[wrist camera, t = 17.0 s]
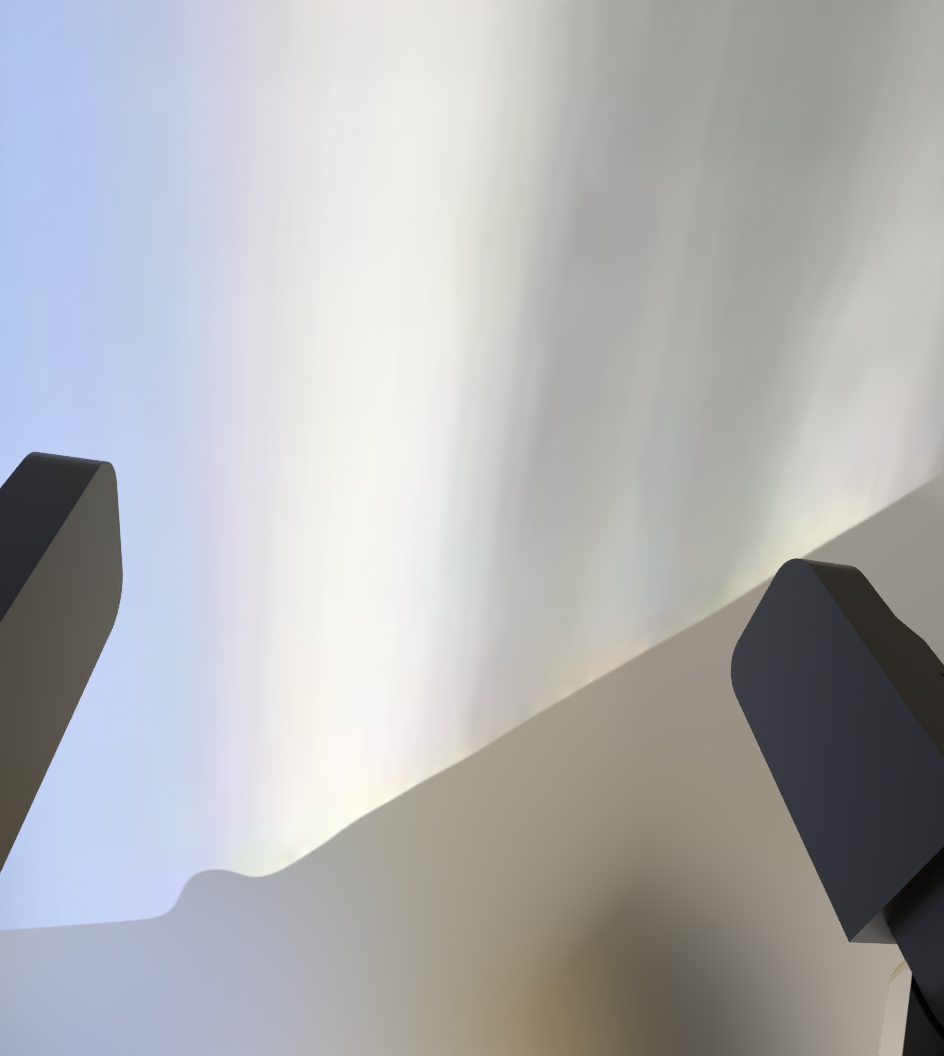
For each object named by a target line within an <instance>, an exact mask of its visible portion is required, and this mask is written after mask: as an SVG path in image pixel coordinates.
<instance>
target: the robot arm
mask: <svg viewBox="0 0 944 1056" xmlns="http://www.w3.org/2000/svg"><path fill="white" fill-rule="evenodd" d="M122 580H123V571H122V555H121V540H120V524H119V509H118V494H117V480H116V474H115V470H114V467H113V466H112V464H111V463H110V462H105V461H98V460H91V459H84V458H76V457H69V456H62V455H55V454H47V453H40V452H32V453H30V454H29V455H27V456H26V457H25V458H24V459H23V461H22V462H21V463H20V464H19V466H18V467H17V468H16V469H15V471H14V472H13V473H12V474H11V476H10V477H9V478H8V479H7V481H6V482H5V483H4V484H3V486H2V487H1V488H0V872H1V870H2V868H3V866H4V864H5V861H6V859H7V857H8V855H9V853H10V850H11V848H12V846H13V844H14V842H15V840H16V837H17V835H18V833H19V831H20V829H21V826H22V824H23V822H24V820H25V818H26V816H27V813H28V811H29V809H30V807H31V805H32V802H33V800H34V798H35V796H36V794H37V792H38V789H39V787H40V785H41V783H42V781H43V778H44V776H45V774H46V772H47V770H48V768H49V765H50V763H51V761H52V759H53V757H54V754H55V752H56V750H57V748H58V746H59V744H60V741H61V739H62V737H63V735H64V733H65V731H66V728H67V726H68V724H69V722H70V720H71V717H72V715H73V713H74V711H75V709H76V707H77V704H78V702H79V700H80V698H81V696H82V693H83V691H84V689H85V687H86V685H87V683H88V680H89V678H90V676H91V674H92V672H93V669H94V667H95V665H96V663H97V661H98V659H99V656H100V654H101V652H102V650H103V648H104V645H105V643H106V641H107V639H108V637H109V635H110V632H111V630H112V628H113V625H114V622H115V620H116V616H117V613H118V608H119V604H120V599H121V592H122ZM731 679H732V685H733V689H734V692H735V695H736V697H737V699H738V701H739V703H740V706H741V708H742V710H743V712H744V714H745V717H746V719H747V721H748V723H749V725H750V727H751V730H752V732H753V734H754V736H755V738H756V740H757V743H758V745H759V747H760V749H761V751H762V754H763V756H764V758H765V760H766V762H767V764H768V766H769V769H770V771H771V773H772V775H773V777H774V779H775V782H776V784H777V786H778V788H779V791H780V793H781V795H782V797H783V799H784V801H785V803H786V806H787V808H788V810H789V812H790V814H791V817H792V819H793V821H794V823H795V825H796V827H797V830H798V832H799V834H800V836H801V838H802V840H803V843H804V845H805V847H806V849H807V851H808V853H809V856H810V858H811V860H812V862H813V864H814V867H815V869H816V871H817V873H818V875H819V877H820V880H821V882H822V884H823V886H824V888H825V891H826V893H827V895H828V897H829V899H830V901H831V903H832V906H833V908H834V910H835V912H836V914H837V917H838V919H839V921H840V923H841V925H842V928H843V930H844V932H845V934H846V936H847V938H848V941H849V942H857V943H884V944H885V943H886V944H897V945H898V946H899V949H900V950H901V952H902V954H903V956H904V958H905V960H904V961H903V962H902V963H901V964H900V965H899V966H898V967H897V968H896V969H895V970H894V971H893V973H892V975H891V977H890V980H889V984H888V991H887V997H886V1004H885V1011H884V1018H883V1025H882V1032H881V1039H880V1046H879V1052H878V1056H944V665H943V664H942V663H941V661H940V660H939V659H938V657H937V656H936V655H935V653H934V652H933V651H932V650H931V649H930V647H929V646H928V645H927V643H926V642H925V641H924V640H923V639H922V638H920V637H919V636H918V635H917V634H916V633H915V632H913V631H912V630H911V629H910V628H909V627H907V626H906V625H905V624H903V623H902V622H901V621H900V620H899V619H898V618H896V616H895V615H894V614H893V612H892V611H891V610H890V609H889V607H888V606H887V605H886V603H885V602H884V601H883V599H882V598H881V597H880V596H879V594H878V593H877V592H876V591H875V589H874V588H873V586H872V585H871V584H870V583H869V581H868V580H867V579H866V577H865V576H864V575H863V574H862V573H861V572H860V571H859V570H858V569H857V568H855V567H853V566H849V565H841V564H834V563H827V562H820V561H812V560H805V559H797V558H796V559H791V560H789V561H787V562H786V563H784V564H783V565H782V566H781V568H780V569H779V570H778V572H777V573H776V575H775V577H774V579H773V580H772V582H771V584H770V586H769V587H768V590H767V591H766V593H765V594H764V596H763V598H762V600H761V602H760V603H759V605H758V607H757V609H756V611H755V613H754V614H753V616H752V617H751V619H750V621H749V623H748V625H747V627H746V628H745V630H744V632H743V634H742V635H741V637H740V639H739V640H738V642H737V644H736V646H735V650H734V652H733V656H732V662H731Z"/></svg>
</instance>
